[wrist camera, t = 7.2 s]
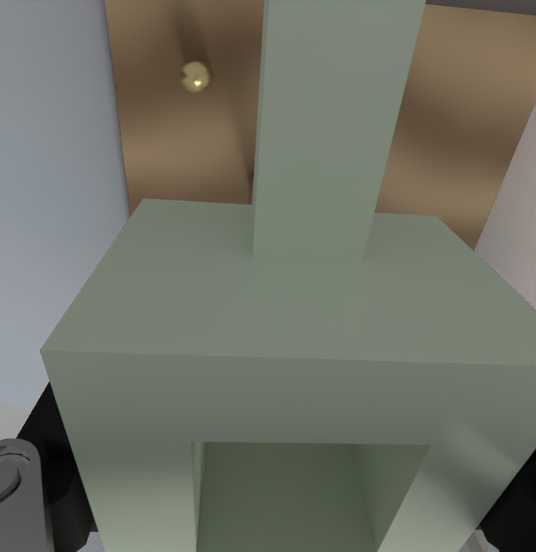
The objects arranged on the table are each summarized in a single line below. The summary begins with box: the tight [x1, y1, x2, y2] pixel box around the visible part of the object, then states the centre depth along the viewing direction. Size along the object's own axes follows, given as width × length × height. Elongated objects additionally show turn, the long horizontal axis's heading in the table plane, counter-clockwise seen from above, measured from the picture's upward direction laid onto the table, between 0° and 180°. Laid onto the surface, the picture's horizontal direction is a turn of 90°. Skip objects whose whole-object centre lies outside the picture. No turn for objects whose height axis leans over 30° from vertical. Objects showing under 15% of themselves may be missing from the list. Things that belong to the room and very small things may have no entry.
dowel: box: [180, 60, 213, 93], centre depth 18 cm, size 1×1×2 cm
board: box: [104, 0, 536, 251], centre depth 24 cm, size 22×22×1 cm
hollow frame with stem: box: [40, 0, 536, 552], centre depth 7 cm, size 14×7×5 cm, turn 176°
